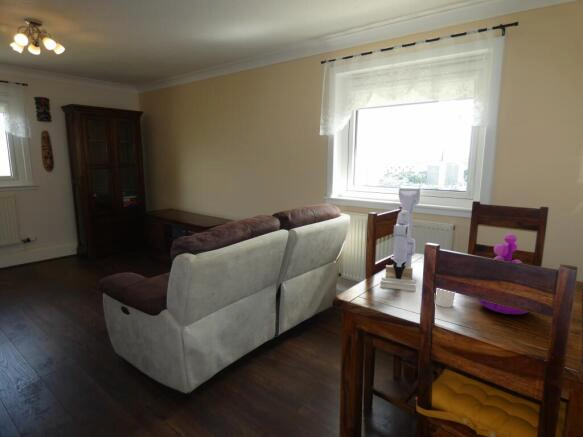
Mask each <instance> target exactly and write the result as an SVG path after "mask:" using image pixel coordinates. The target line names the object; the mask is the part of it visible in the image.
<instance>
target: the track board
mask: <svg viewBox="0 0 583 437" xmlns="http://www.w3.org/2000/svg"><path fill="white" fill-rule="evenodd" d="M416 282H417V281H416V280H413V279H412V280H403V279H394V278H385V277H384V276H381V279H380V284H379V285H380V288H388V289H395V290H404V291H411V292H412V291H413V292H416V287H417V285H416Z"/></svg>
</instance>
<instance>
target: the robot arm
mask: <svg viewBox="0 0 583 437" xmlns="http://www.w3.org/2000/svg"><path fill="white" fill-rule="evenodd" d="M420 197H421V187H420V186H418V187H417V186H400V187H399V189H398V198H399V202H400V204H401V211H399V212H398V214H397V218H396V224H394V225H393V241H394V242H393V245H394V246H393V257H392V256H391V257H390V260H392V261H393V263H392V266H393V267H394V270H395V275H396V279H401V277H402V273H403V270H404V269H405V267H410V268H412V262H413V261H412V260H413V257H414V256H415V254H416V243H417V242H416V240H415V239H414V238H412V227H413V226H412V225H413V218H414V217H413V216H414V209H415V207H416V205H419V203H420Z"/></svg>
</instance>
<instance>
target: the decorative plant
mask: <svg viewBox="0 0 583 437" xmlns="http://www.w3.org/2000/svg"><path fill="white" fill-rule="evenodd" d="M503 238H504V242H505V243H507V244H505V243H498V244H496V245H494V247H493V252H494V254H495V255H497V256H495V257H494V258H493V260H494V259H499V260H504V261H511V262H516V263H522V264H523V262H522V261H521V260H519V259H513V260H512V256H513V253H514V252H515V251H517V250H518V246H517V245H518V244H516V243H517V240H518V239H517V236H516V235H515V234H514V233H507V234H506V235H505V236H504V237H503ZM477 301H478V302H479V303H480V305H482V306H483V307H485V308H487V309H489V310H491V311H493V312H497V313H501V314H505V315H523V314H526V313H528V312H527V311H523V310H519V309H515V308H511V307H507V306H502V305H498V304H494V303H490V302H486V301H482V300H479V299H477Z"/></svg>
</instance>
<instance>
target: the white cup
mask: <svg viewBox="0 0 583 437" xmlns="http://www.w3.org/2000/svg"><path fill="white" fill-rule="evenodd" d="M455 296H456V292H455V293H452V292H448V291H444V290H440V289H437V295H436V304H435V305H436V306H438V307H442V308H452V307H453V306H454V300H455Z"/></svg>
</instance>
